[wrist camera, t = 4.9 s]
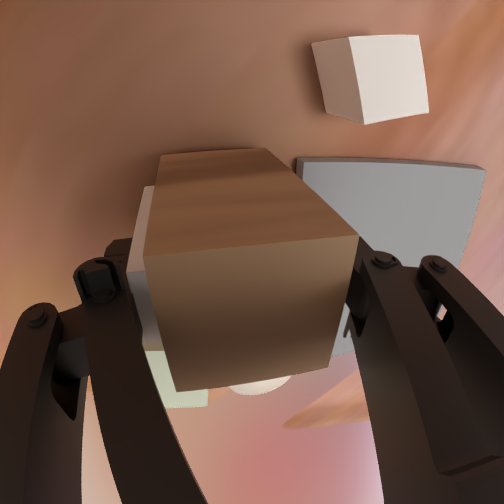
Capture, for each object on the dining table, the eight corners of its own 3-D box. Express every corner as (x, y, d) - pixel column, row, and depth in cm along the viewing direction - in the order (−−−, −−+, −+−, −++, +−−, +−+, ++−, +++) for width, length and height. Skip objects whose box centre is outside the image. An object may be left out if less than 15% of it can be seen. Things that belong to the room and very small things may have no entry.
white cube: (310, 43, 14) (348, 36, 10) (372, 37, 14) (418, 34, 10) (325, 112, 16) (364, 124, 12) (383, 101, 16) (428, 112, 13)
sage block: (141, 305, 19) (139, 351, 16) (202, 304, 20) (210, 349, 17) (148, 365, 22) (149, 408, 19) (199, 364, 23) (207, 406, 20)
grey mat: (296, 157, 17) (303, 162, 16) (477, 166, 20) (486, 170, 19) (279, 358, 25) (283, 367, 24) (428, 320, 28) (434, 326, 27)
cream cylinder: (212, 301, 20) (225, 359, 16) (272, 292, 21) (297, 347, 17) (216, 343, 22) (228, 399, 18) (269, 335, 23) (290, 387, 19)
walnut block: (161, 155, 14) (142, 256, 6) (265, 148, 15) (359, 234, 7) (170, 247, 17) (176, 392, 9) (263, 238, 18) (327, 367, 10)
